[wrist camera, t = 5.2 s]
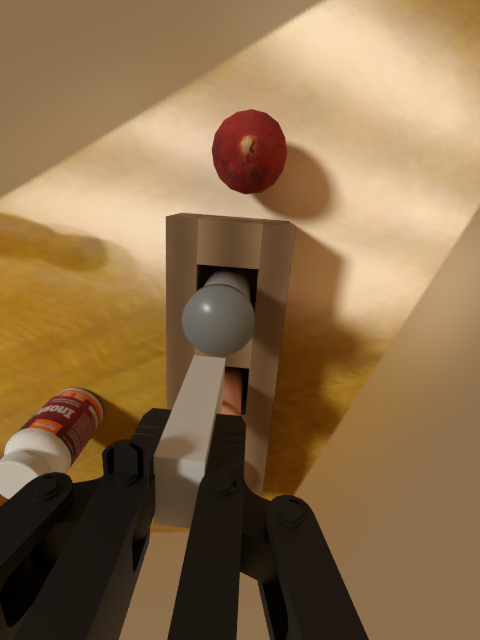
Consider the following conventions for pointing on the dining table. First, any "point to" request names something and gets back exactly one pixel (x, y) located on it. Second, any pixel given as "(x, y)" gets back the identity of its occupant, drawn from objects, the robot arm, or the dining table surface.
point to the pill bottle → (50, 439)
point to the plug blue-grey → (220, 314)
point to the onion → (249, 151)
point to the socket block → (269, 305)
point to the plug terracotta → (232, 391)
